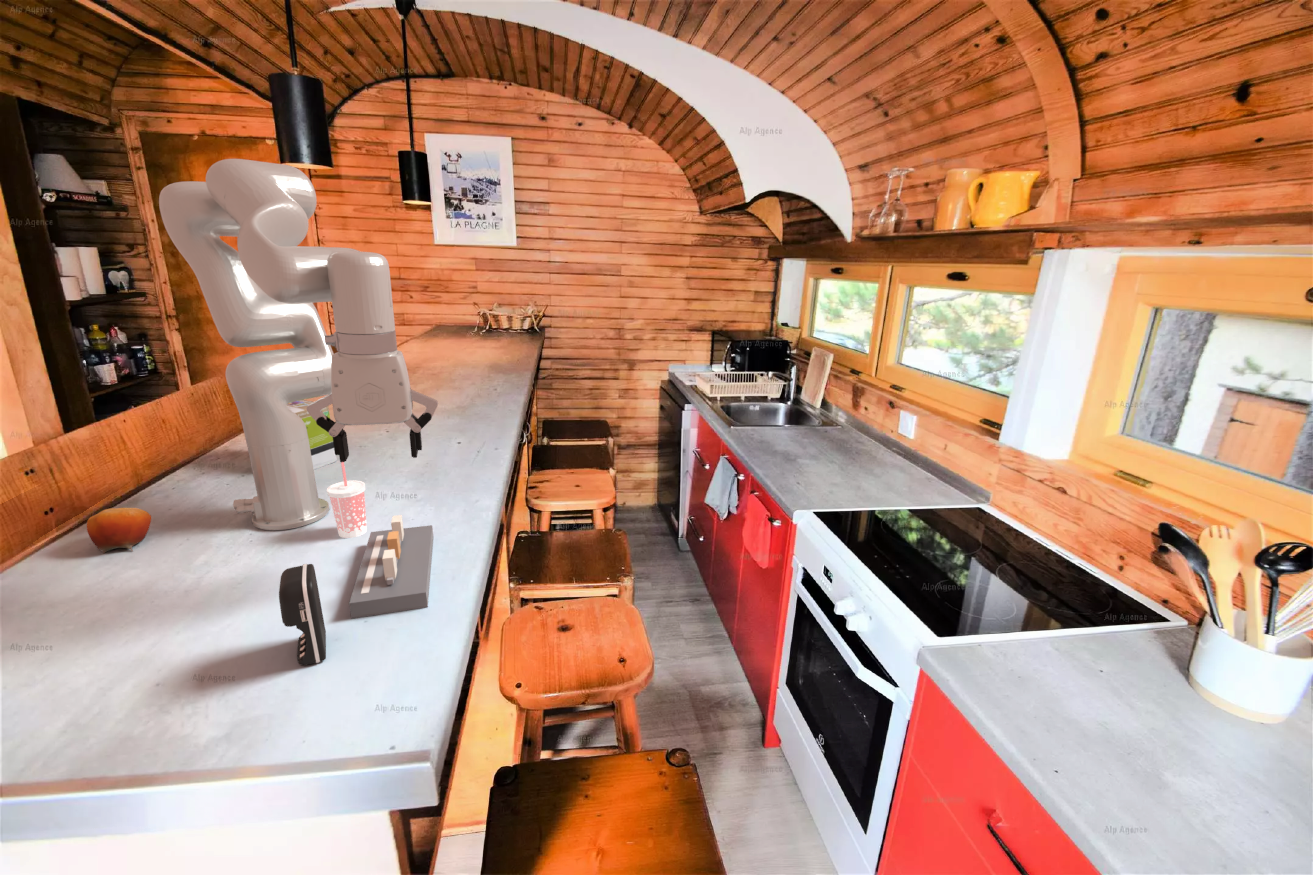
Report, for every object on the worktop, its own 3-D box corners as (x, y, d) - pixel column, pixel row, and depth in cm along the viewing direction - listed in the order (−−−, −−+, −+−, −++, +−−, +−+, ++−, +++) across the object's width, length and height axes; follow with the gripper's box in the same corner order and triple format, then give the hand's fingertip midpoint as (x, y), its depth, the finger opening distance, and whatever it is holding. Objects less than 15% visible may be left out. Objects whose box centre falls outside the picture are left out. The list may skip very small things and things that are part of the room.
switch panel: (351, 618, 81) (349, 602, 80) (372, 544, 101) (370, 531, 100) (427, 606, 84) (425, 591, 83) (433, 537, 104) (432, 524, 103)
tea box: (255, 465, 135) (242, 404, 130) (295, 452, 143) (284, 394, 139) (300, 475, 129) (289, 412, 125) (339, 461, 138) (329, 402, 134)
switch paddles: (385, 585, 84) (381, 561, 83) (395, 535, 98) (393, 514, 97) (395, 583, 84) (392, 559, 83) (404, 534, 99) (402, 513, 98)
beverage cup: (378, 525, 108) (368, 455, 103) (359, 541, 102) (347, 467, 97) (347, 523, 108) (336, 453, 104) (326, 538, 102) (313, 465, 98)
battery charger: (293, 639, 76) (278, 564, 73) (326, 631, 78) (312, 557, 74) (291, 672, 70) (274, 592, 67) (326, 662, 72) (312, 584, 69)
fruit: (78, 558, 91) (75, 508, 93) (100, 560, 98) (97, 514, 100) (143, 547, 95) (140, 500, 96) (160, 551, 102) (157, 506, 103)
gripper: (290, 349, 75) (309, 470, 80) (432, 348, 80) (441, 461, 86) (304, 339, 82) (320, 451, 87) (434, 338, 87) (442, 445, 92)
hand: (380, 456), depth 86 cm, fingers open, 9 cm apart
